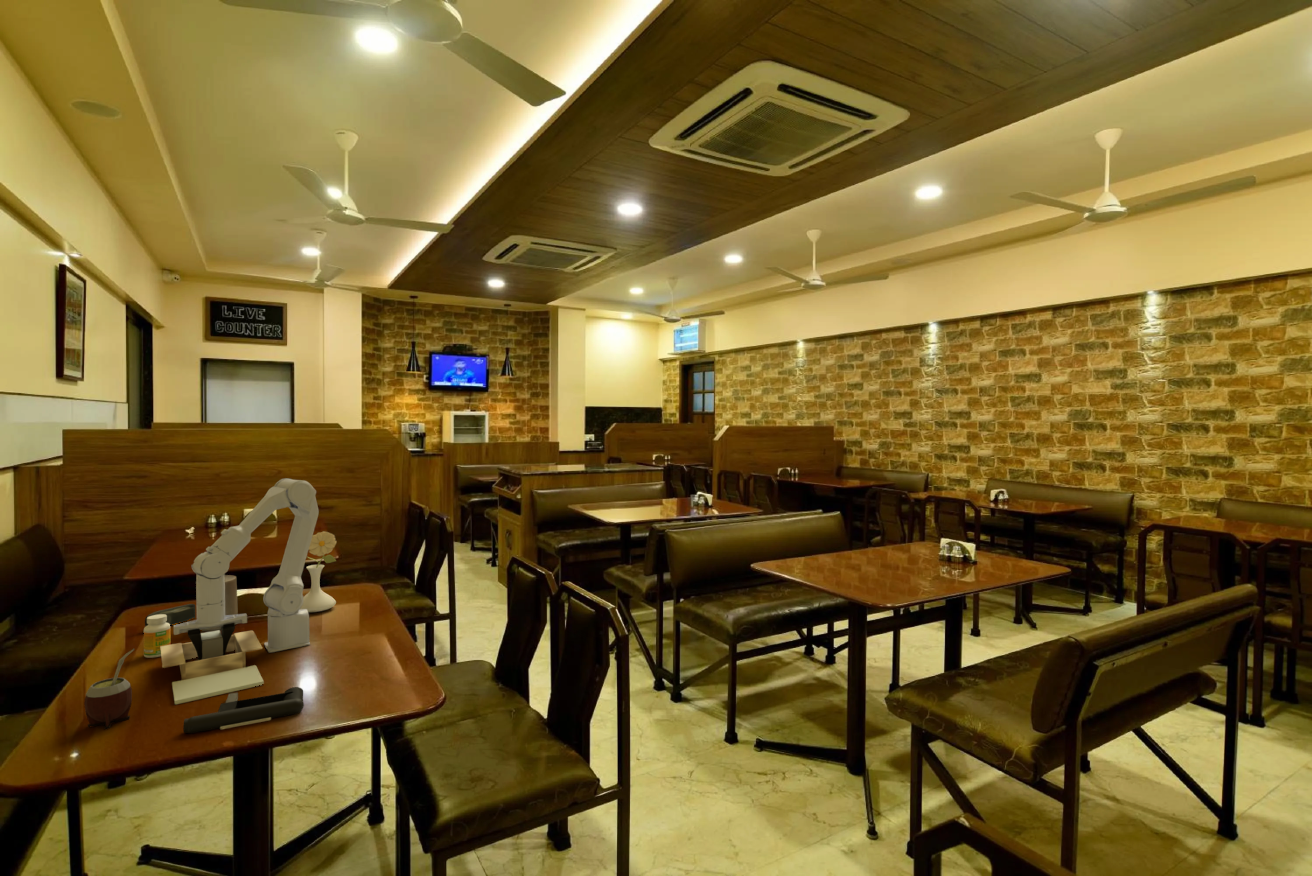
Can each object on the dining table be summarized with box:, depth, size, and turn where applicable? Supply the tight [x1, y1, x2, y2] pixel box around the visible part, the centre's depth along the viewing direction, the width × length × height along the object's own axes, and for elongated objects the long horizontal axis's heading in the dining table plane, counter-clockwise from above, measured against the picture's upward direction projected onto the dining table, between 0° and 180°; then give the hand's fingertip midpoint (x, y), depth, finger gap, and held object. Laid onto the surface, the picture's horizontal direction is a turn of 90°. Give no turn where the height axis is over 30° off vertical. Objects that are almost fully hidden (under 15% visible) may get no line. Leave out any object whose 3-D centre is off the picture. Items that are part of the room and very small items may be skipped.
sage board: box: [171, 664, 265, 705], centre depth 143 cm, size 16×12×1 cm
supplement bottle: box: [143, 614, 172, 659], centre depth 161 cm, size 5×5×10 cm
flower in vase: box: [299, 531, 337, 613], centre depth 198 cm, size 13×11×25 cm
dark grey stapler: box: [142, 603, 196, 634], centre depth 183 cm, size 5×3×15 cm
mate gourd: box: [83, 648, 135, 730], centre depth 125 cm, size 8×8×15 cm
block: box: [201, 630, 223, 660], centre depth 154 cm, size 4×8×7 cm, turn 40°
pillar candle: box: [195, 574, 239, 632], centre depth 183 cm, size 10×10×15 cm
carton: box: [160, 630, 263, 680], centre depth 154 cm, size 19×16×4 cm
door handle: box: [182, 686, 305, 734], centre depth 130 cm, size 3×20×16 cm
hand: (211, 657), depth 154 cm, fingers closed on block, 4 cm apart
